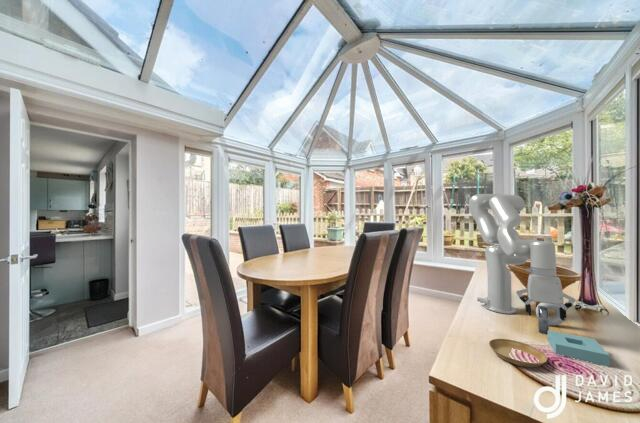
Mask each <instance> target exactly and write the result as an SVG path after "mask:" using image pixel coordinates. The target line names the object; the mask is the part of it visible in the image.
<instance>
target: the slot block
mask: <svg viewBox="0 0 640 423" xmlns="http://www.w3.org/2000/svg"><path fill="white" fill-rule="evenodd" d="M547 333H548V334H547V341H548V343H549V345H550V347H551V348H553V349H552V351H553V350H554V351H553V353H554V354H555V353H556V354H559V355H564V356H568V357H572V358H575V359H574V360H577V359H579V360H578V361H581V360H584V361H583V362H585V361H588V362H587V363H590V362H592V363H591V364H596V365H598V366H599V365H600V366H604V367H608V368H610V366H611V365H610V364H611V363H610V354H609V353H608V352H607V351H606V350H605V349H604V348H603V347H602V346H601V344H600V343H598V341H596V339H595V338H589V337H585V336H580V335H574V334H570V333H564V332H558V331H553V330H550V329H549V330H547ZM556 354H555V355H556ZM559 355H558V356H559ZM564 356H563V357H564ZM568 357H567V358H568ZM572 358H571V359H572Z"/></svg>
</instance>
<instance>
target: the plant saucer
mask: <svg viewBox="0 0 640 423" xmlns="http://www.w3.org/2000/svg"><path fill="white" fill-rule="evenodd" d="M488 346H489V347H490V348H491V351H493V352H494V354H496V356H497V357H499V358H501V359H502V360H504V361H505V362H507V363H510V364H512V365H516V366H519V367H523V366H524V367H525V368H536V367H539V366H541V365H543V364H546V362H547V361H548V356H547V355H546V354H545V353H544V352H543V351H542V350H540V349H538V348H536V347H534V346H533V345H530V344H528V343H525V342H521V341H519V340H512V339H507V338H494V339H491V340H489V342H488ZM512 348H513V349H518V350H521V351H524V352H526V353H528V354H531V355H533V356H535V357H536V358H537V359H538V360H539V363H529V362H524V361H519V360H515V359H512V358H511V357H510V356H509V353H510V351H511V349H512ZM525 361H526V360H525Z"/></svg>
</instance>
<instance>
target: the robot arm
mask: <svg viewBox="0 0 640 423" xmlns="http://www.w3.org/2000/svg"><path fill="white" fill-rule="evenodd" d="M525 205H526V204H525V200H524V199H523V197H521V196H520V195H517V194H506V193H478V194H474V195H471V197H470V198H469V202H468V209H469V212H470V214H471V216H472V217H473V220H474V221H475V223H476V225H477V228H478V230H479V234H480V236H481V238H482V240H483V242H484V243H485V244H487V245H489V246H487V247H486V248H485V250H484V257H485V262H486V268H487V296H486V297H485V298H483V297H477V298H476V300H477V302H479V303H481V304H483V307H484V308H485V309H486V310H489V311H490V312H491V311H492V312H494V313H498V314H499V313H500V314H505V315H507V314H509V315H512V314H513V315H514V314H516V313H517V310H516V308H515V307H513V306H512V303H513V302H512V273H511V271H510V270H509V267H508V265H510V266H511V265H512V266H513V265H518V266H519V265H523V264H525V263H527V261H528V258H529V259H530V260H529V261H530V267H528V268H527V267H526V268H525V269H526V270H525V271H526V272H528V273H529V274H528V278H527V284H526V285H527V286H526V288H524V289H521V290H517V291H516V292H515V293H516V294H517V297H518V298H519V299H520V300H521V301H522V302H523V303H524V305H525V307H524V308H525V312H526V313H527V315H528V316H531V315H532V308H531V307H532V306H531V303H532V302H536V303H541V302H542V303H550V304H559V305H560V306H561V308H559V310H560V319H561V320H563V321H564V322H565V320H566V319H564V318H567V310H568V309H569V308H571V307H573V305H574V304H575V302H576V301H577V299H576V298H574V297H573V296H570V295H569V294H566V293H564V291H563V287H562V286H563V285H562V282H561V281H562V280H561V279H560V277H558V275H557V259H556V257H557V256H556V244H555V243H554V242H552V241H549V240H547V241H546V240H537V239H525V238H524V239H523V238H521V237H520V234H519V232H518V231H517V230H516V229H515V227H517V226H518V225H520V224H521V223H522V217H521V215H520V214H519V212H522V211H523V210H524V208H525ZM487 210H489V211H492V213H493V215H494V216H495V217H494V216H493V215H492V213H490V212H488V211H487ZM496 220H497V222H498V223H499V224H498V223H497V222H496ZM526 293H527V298H525V297H524V296H523V294H526ZM564 298H565V299H567V300H568V301H567V302H566V303H564Z"/></svg>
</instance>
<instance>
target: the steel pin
mask: <svg viewBox="0 0 640 423" xmlns="http://www.w3.org/2000/svg"><path fill="white" fill-rule="evenodd" d="M537 306H538V305H537ZM549 317H550V316H549V310H548V307H545V306H538V317H537V319H538V320H537V321H538V325H537V326H538V333H540V334H542V335H548V333H547V330H549V331H550V328H549V327H550V325H549Z"/></svg>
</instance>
